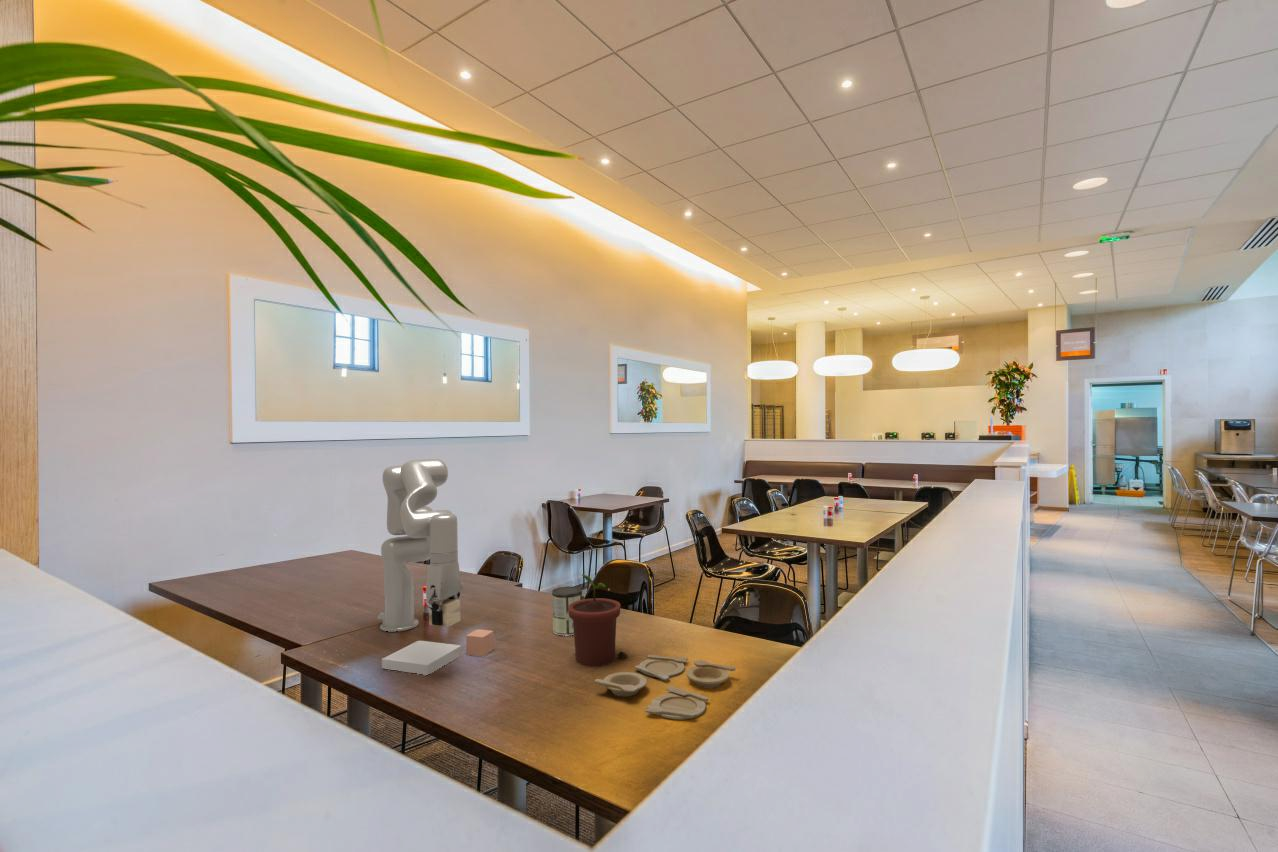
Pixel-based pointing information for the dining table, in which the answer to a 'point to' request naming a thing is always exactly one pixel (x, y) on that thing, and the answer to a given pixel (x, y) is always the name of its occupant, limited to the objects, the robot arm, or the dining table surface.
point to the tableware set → (679, 700)
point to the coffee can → (564, 609)
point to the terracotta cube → (479, 642)
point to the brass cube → (448, 612)
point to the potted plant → (595, 629)
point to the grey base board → (422, 657)
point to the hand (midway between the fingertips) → (444, 620)
